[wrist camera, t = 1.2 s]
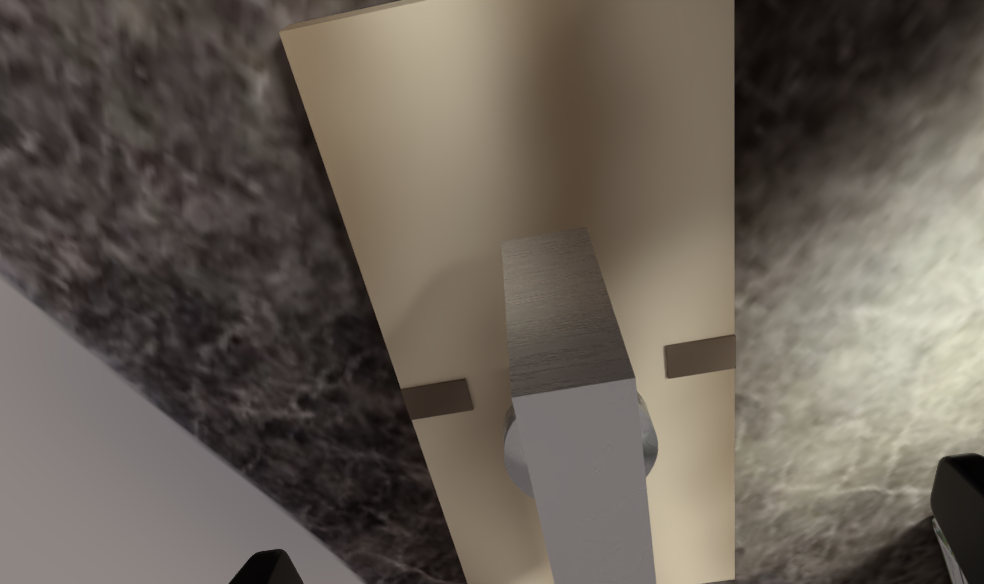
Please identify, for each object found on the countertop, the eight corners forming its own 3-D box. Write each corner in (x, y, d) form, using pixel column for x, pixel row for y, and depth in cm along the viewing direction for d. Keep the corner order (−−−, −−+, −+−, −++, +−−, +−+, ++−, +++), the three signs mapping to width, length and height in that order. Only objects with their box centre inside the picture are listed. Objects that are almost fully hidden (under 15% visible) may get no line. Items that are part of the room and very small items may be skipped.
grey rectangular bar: (629, 197, 14) (727, 393, 9) (663, 566, 21) (730, 812, 15) (451, 230, 15) (435, 438, 9) (540, 583, 21) (561, 830, 16)
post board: (718, -68, 15) (770, -61, 12) (726, 556, 26) (753, 629, 23) (289, 24, 15) (252, 50, 13) (477, 590, 27) (477, 664, 24)
